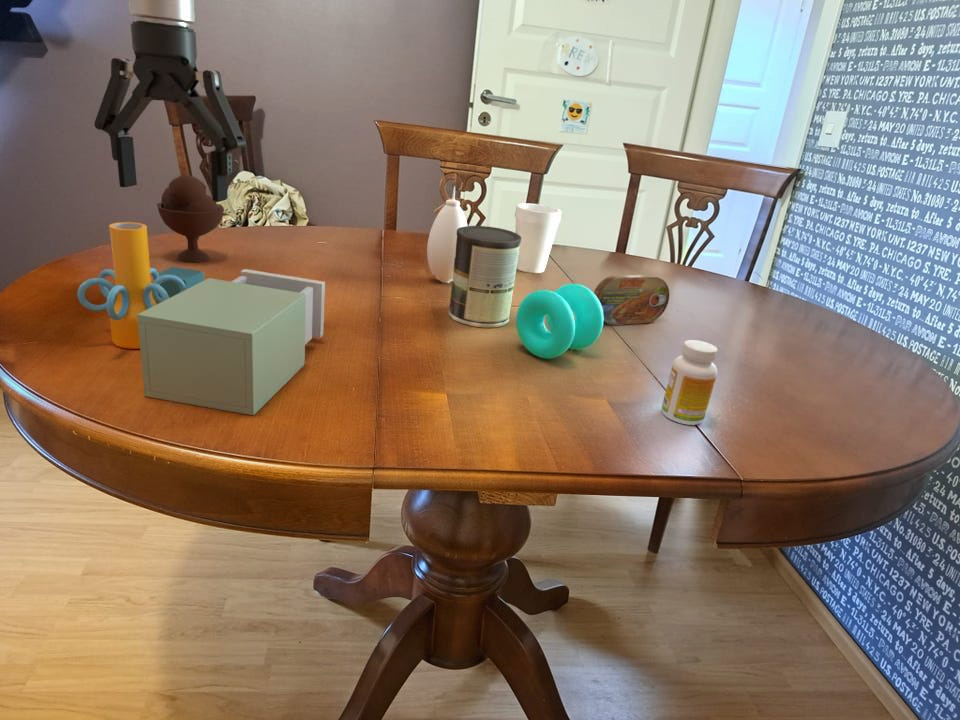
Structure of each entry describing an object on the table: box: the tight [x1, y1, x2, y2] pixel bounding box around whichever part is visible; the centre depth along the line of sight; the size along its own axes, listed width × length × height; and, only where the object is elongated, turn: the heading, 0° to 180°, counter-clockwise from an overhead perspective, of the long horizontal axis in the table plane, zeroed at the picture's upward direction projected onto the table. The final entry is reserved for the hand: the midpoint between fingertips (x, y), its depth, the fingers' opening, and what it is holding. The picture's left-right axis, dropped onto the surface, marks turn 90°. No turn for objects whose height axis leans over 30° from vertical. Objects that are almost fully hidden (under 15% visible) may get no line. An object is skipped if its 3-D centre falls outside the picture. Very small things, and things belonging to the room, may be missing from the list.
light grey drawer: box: [230, 268, 326, 346], centre depth 88 cm, size 20×11×8 cm, turn 172°
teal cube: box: [158, 266, 205, 299], centre depth 98 cm, size 5×5×5 cm
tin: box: [593, 274, 670, 326], centre depth 115 cm, size 15×3×8 cm, turn 114°
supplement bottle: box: [661, 339, 718, 426], centre depth 83 cm, size 5×5×10 cm
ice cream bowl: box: [156, 174, 225, 264], centre depth 118 cm, size 11×11×15 cm
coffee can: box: [448, 225, 522, 329], centre depth 107 cm, size 10×10×14 cm
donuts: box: [515, 283, 605, 360], centre depth 98 cm, size 10×10×10 cm
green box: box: [137, 277, 306, 416], centre depth 77 cm, size 15×13×10 cm
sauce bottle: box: [426, 185, 468, 284], centre depth 123 cm, size 8×8×18 cm
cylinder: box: [76, 221, 186, 350], centre depth 83 cm, size 12×10×15 cm
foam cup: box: [514, 202, 562, 274], centre depth 140 cm, size 10×9×13 cm
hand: (174, 192), depth 92 cm, fingers open, 13 cm apart
